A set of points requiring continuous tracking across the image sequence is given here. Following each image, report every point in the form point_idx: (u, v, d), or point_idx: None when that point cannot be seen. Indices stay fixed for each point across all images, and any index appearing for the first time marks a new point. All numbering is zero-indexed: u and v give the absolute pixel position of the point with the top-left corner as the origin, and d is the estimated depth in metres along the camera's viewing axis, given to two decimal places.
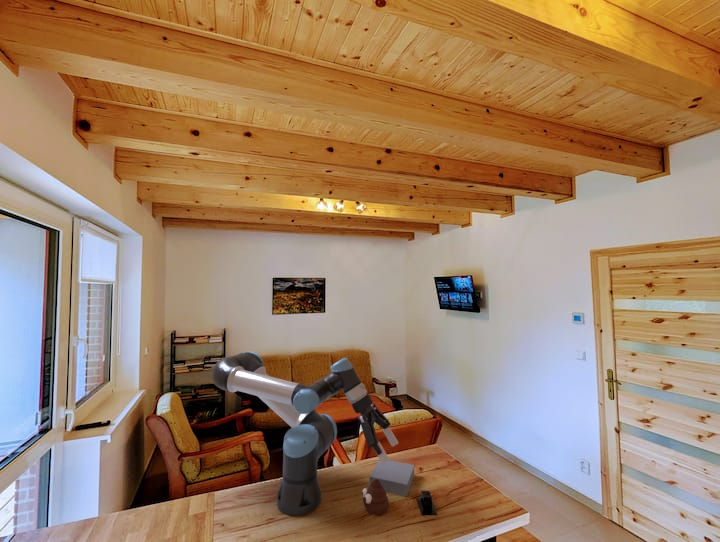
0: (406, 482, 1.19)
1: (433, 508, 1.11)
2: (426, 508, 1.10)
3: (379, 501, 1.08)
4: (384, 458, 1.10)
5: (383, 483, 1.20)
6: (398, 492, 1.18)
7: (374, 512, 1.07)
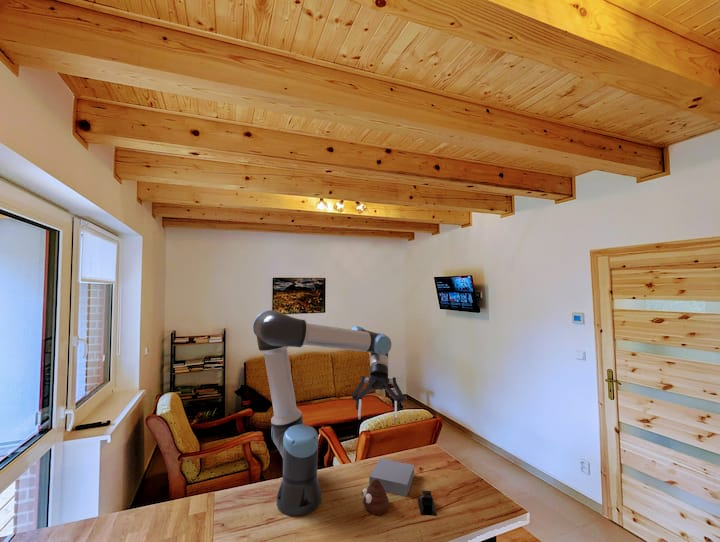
0: (406, 482, 1.19)
1: (433, 508, 1.11)
2: (426, 508, 1.10)
3: (379, 501, 1.08)
4: None
5: (383, 483, 1.20)
6: (398, 492, 1.18)
7: (374, 512, 1.07)
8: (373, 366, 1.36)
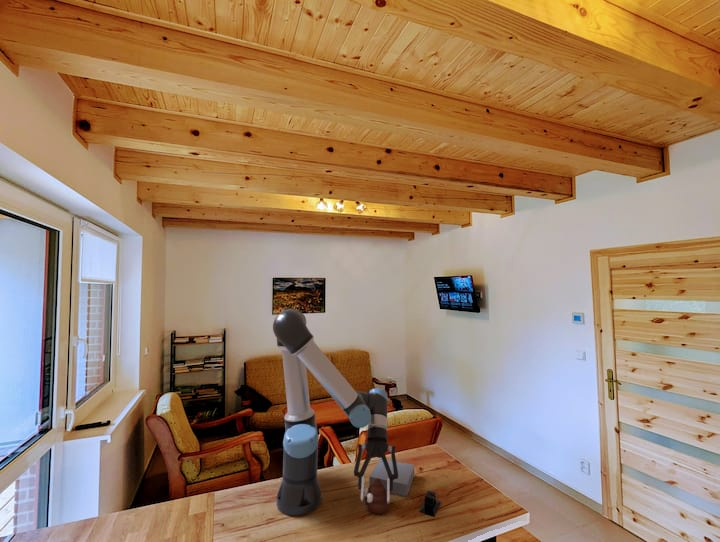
0: (406, 482, 1.19)
1: (435, 510, 1.10)
2: (427, 508, 1.10)
3: (380, 500, 1.09)
4: None
5: (383, 483, 1.20)
6: (398, 492, 1.18)
7: (375, 511, 1.07)
8: (371, 429, 1.22)
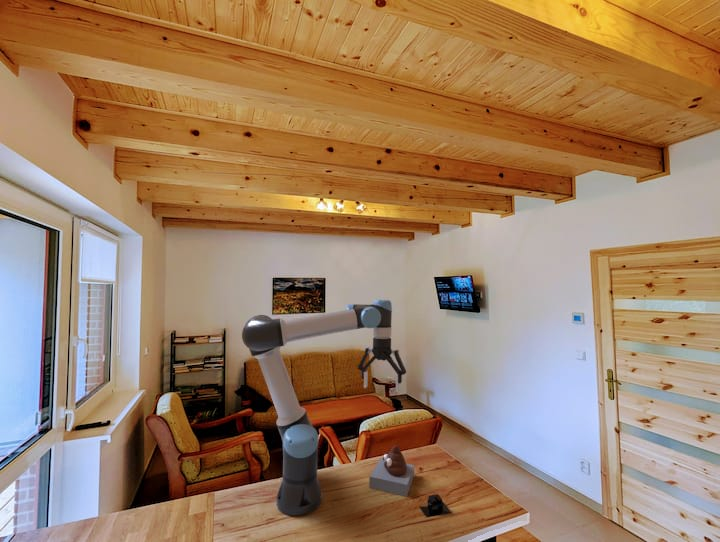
0: (406, 482, 1.19)
1: (434, 514, 1.08)
2: (428, 508, 1.10)
3: (398, 464, 1.23)
4: (398, 387, 1.34)
5: (383, 483, 1.20)
6: (398, 492, 1.18)
7: (394, 473, 1.22)
8: (374, 340, 1.35)
